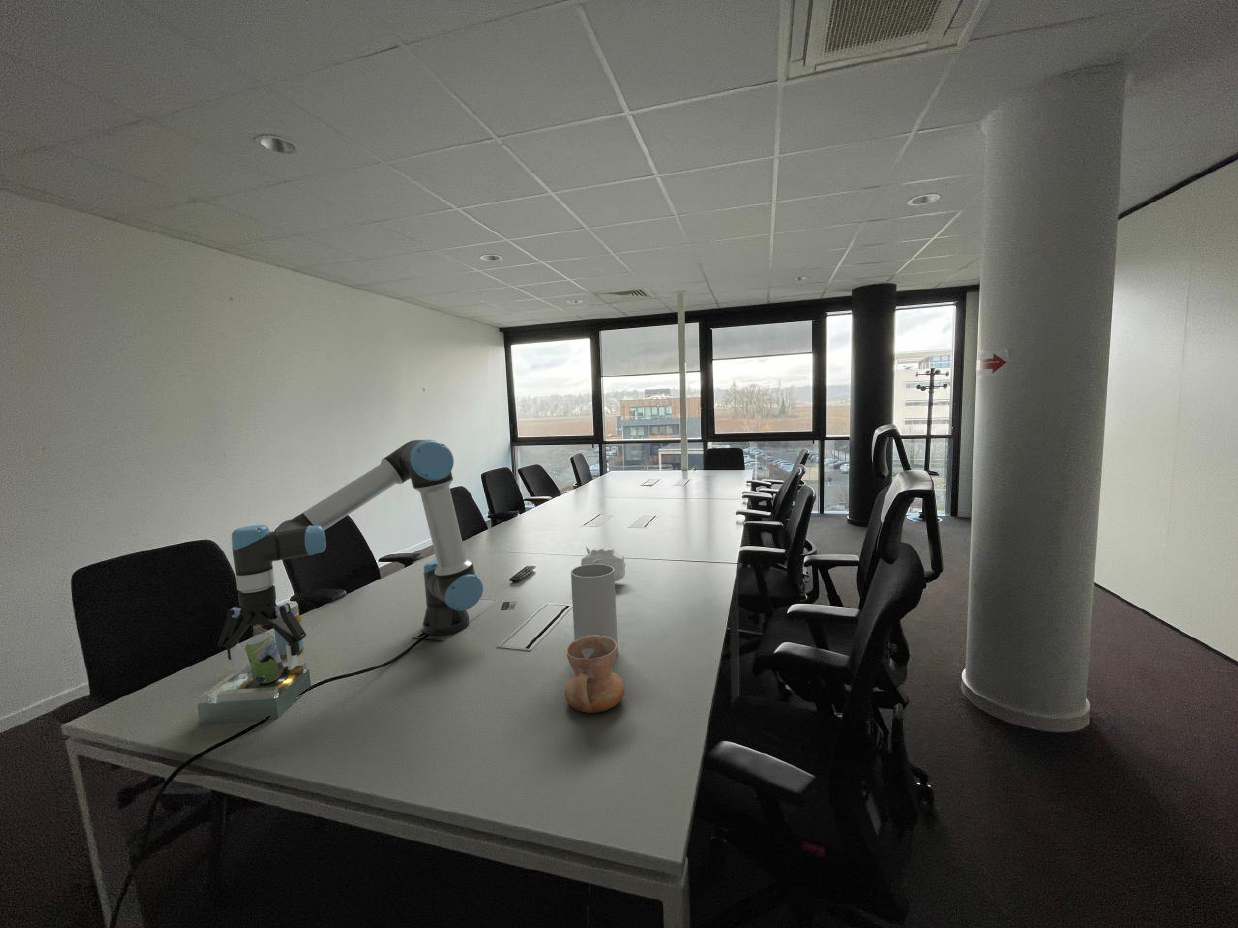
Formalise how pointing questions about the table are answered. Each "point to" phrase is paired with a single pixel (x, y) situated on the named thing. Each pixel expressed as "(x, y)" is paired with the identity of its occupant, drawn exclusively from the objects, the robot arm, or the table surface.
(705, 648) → the table surface
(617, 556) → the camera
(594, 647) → the ceramic jug
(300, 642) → the bottle
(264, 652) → the beverage can
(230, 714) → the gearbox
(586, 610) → the cylinder vase
